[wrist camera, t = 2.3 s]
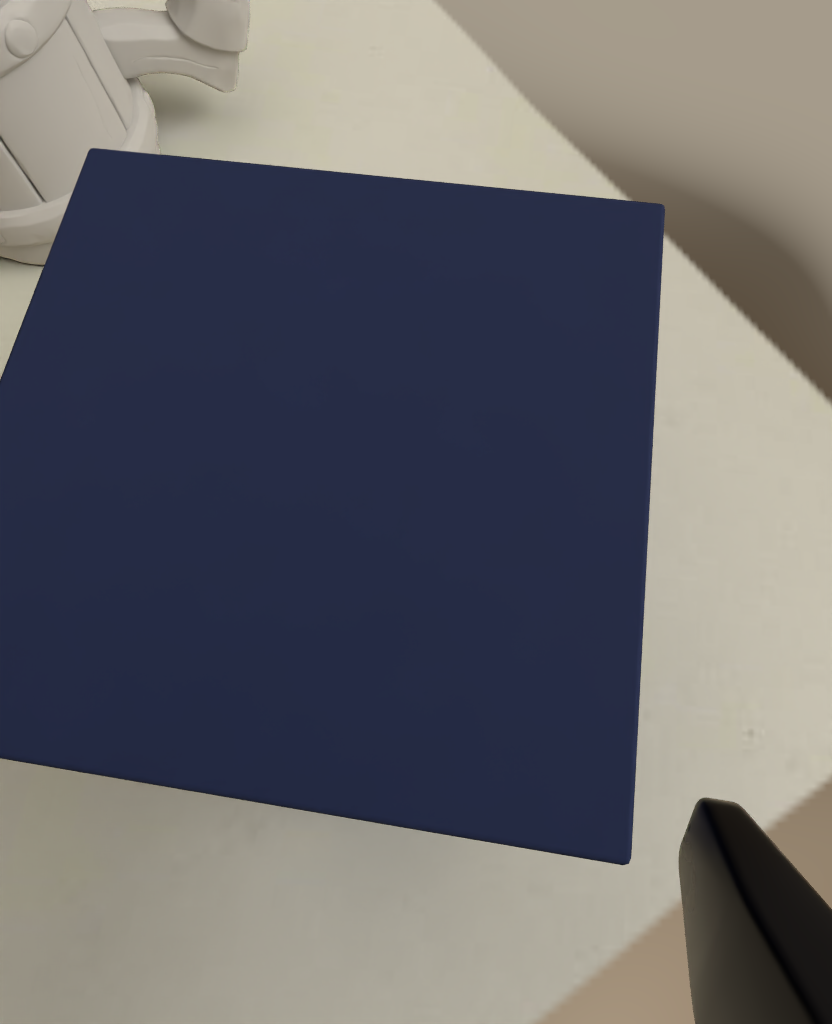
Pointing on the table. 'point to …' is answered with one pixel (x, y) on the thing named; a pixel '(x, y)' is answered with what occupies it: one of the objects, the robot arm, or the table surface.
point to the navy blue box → (335, 496)
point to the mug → (92, 94)
